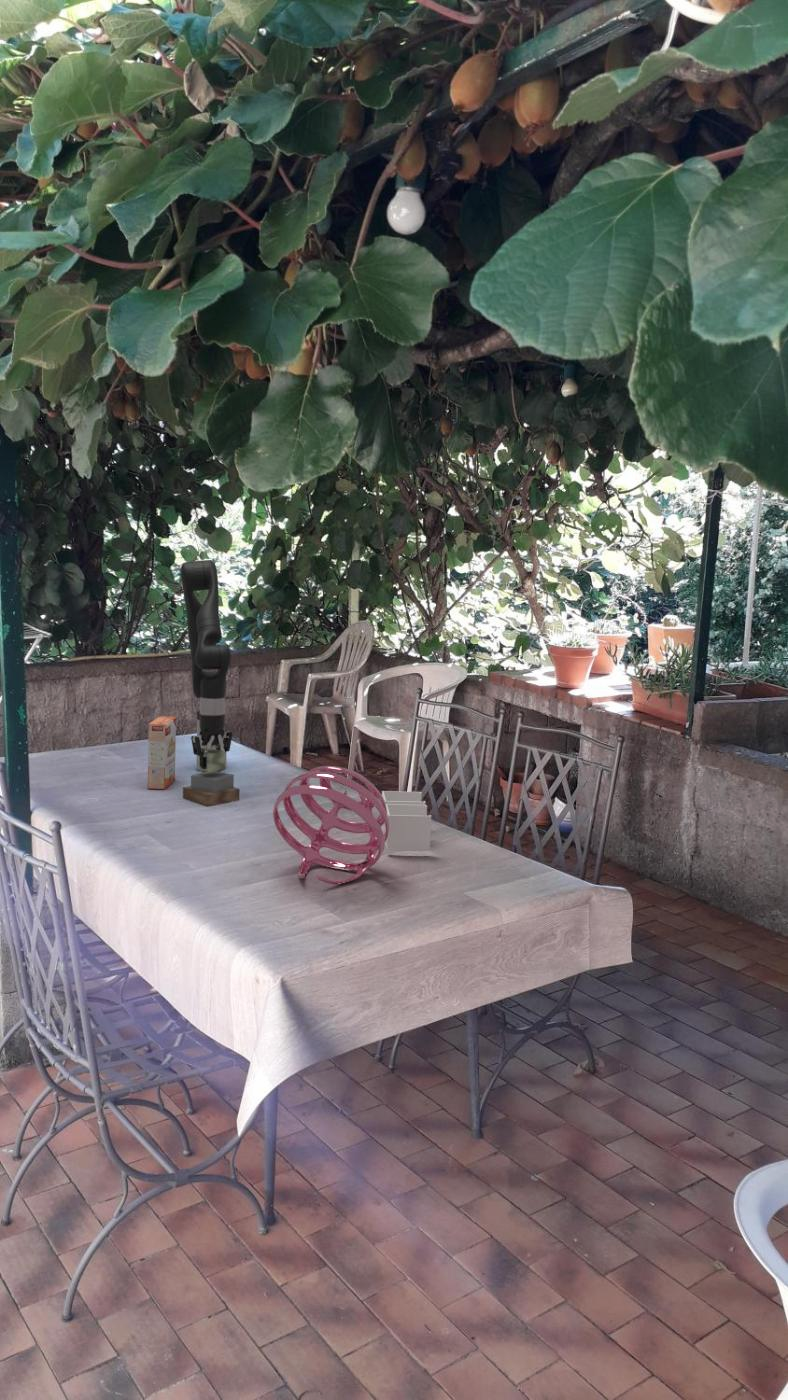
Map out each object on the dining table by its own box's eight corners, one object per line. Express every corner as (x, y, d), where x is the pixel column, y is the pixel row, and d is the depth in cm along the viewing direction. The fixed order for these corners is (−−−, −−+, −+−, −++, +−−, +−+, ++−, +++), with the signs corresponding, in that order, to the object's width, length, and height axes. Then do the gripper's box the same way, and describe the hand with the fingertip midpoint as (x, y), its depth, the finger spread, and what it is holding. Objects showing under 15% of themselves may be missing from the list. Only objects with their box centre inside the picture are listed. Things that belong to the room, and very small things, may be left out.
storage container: (380, 829, 291) (382, 791, 289) (419, 829, 292) (421, 791, 290) (386, 857, 266) (388, 815, 265) (429, 857, 267) (431, 816, 265)
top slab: (210, 783, 320) (210, 770, 319) (233, 787, 315) (233, 774, 315) (190, 788, 312) (191, 775, 311) (214, 793, 308) (214, 780, 307)
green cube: (213, 766, 317) (213, 748, 316) (224, 769, 313) (225, 751, 312) (198, 768, 313) (199, 750, 312) (210, 772, 309) (210, 754, 308)
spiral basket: (327, 824, 223) (372, 737, 241) (230, 831, 238) (279, 748, 256) (385, 907, 237) (423, 819, 255) (289, 909, 252) (332, 826, 270)
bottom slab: (215, 793, 323) (215, 781, 322) (239, 801, 315) (239, 789, 314) (182, 800, 314) (182, 787, 313) (206, 808, 306) (207, 795, 305)
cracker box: (166, 790, 322) (166, 724, 319) (146, 789, 323) (147, 723, 319) (176, 779, 336) (177, 716, 333) (157, 778, 336) (158, 715, 333)
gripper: (223, 707, 318) (222, 762, 320) (185, 712, 307) (184, 768, 310) (239, 711, 313) (238, 766, 315) (200, 716, 302) (199, 773, 305)
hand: (211, 767), depth 313 cm, fingers closed on green cube, 5 cm apart
